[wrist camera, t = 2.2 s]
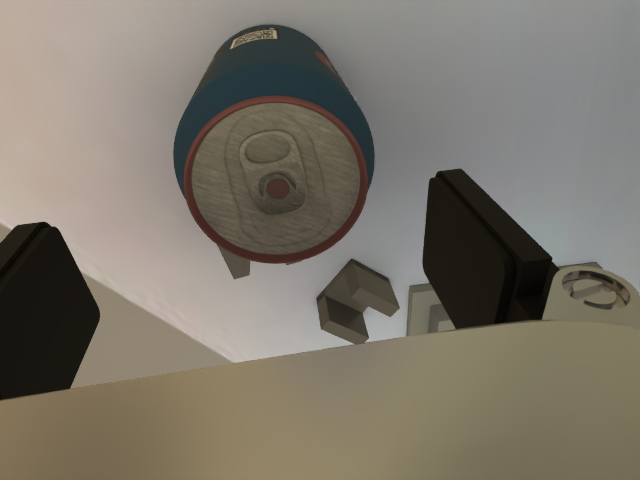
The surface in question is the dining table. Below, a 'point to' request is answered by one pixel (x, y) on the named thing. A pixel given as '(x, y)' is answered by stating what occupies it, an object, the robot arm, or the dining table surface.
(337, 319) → the clip
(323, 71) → the soda can
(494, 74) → the dining table surface
